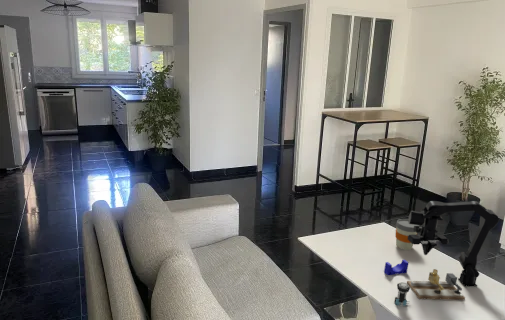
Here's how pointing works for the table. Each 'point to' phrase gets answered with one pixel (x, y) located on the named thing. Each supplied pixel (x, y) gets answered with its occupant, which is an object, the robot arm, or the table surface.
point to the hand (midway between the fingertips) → (425, 254)
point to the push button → (402, 294)
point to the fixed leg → (452, 281)
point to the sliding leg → (435, 279)
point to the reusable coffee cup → (404, 234)
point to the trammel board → (434, 290)
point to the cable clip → (396, 268)
